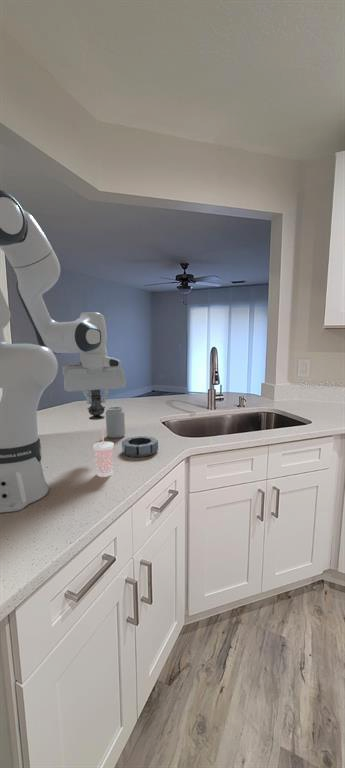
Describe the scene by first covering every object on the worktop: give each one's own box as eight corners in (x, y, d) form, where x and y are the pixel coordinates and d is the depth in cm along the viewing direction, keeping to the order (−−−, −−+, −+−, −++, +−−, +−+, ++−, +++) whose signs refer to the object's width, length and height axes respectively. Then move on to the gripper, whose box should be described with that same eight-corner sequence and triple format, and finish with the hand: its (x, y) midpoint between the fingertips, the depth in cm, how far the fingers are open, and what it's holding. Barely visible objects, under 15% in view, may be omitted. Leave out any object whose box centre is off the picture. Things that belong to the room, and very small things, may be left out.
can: (127, 433, 143) (125, 405, 142) (122, 439, 136) (121, 409, 134) (109, 433, 144) (108, 406, 142) (104, 438, 136) (103, 409, 135)
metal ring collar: (127, 459, 112) (127, 448, 112) (119, 448, 123) (119, 438, 123) (161, 454, 116) (161, 443, 116) (151, 444, 128) (151, 434, 127)
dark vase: (101, 420, 111) (100, 383, 110) (85, 419, 112) (83, 384, 111) (108, 416, 117) (106, 382, 116) (92, 416, 118) (90, 382, 117)
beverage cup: (93, 471, 102) (90, 426, 101) (113, 468, 105) (111, 424, 103) (96, 479, 97) (93, 431, 95) (117, 475, 99) (115, 429, 97)
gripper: (62, 363, 106) (64, 407, 108) (126, 361, 113) (127, 402, 115) (61, 362, 112) (63, 403, 113) (122, 360, 119) (123, 399, 121)
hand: (96, 402), depth 114 cm, fingers closed on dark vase, 3 cm apart
